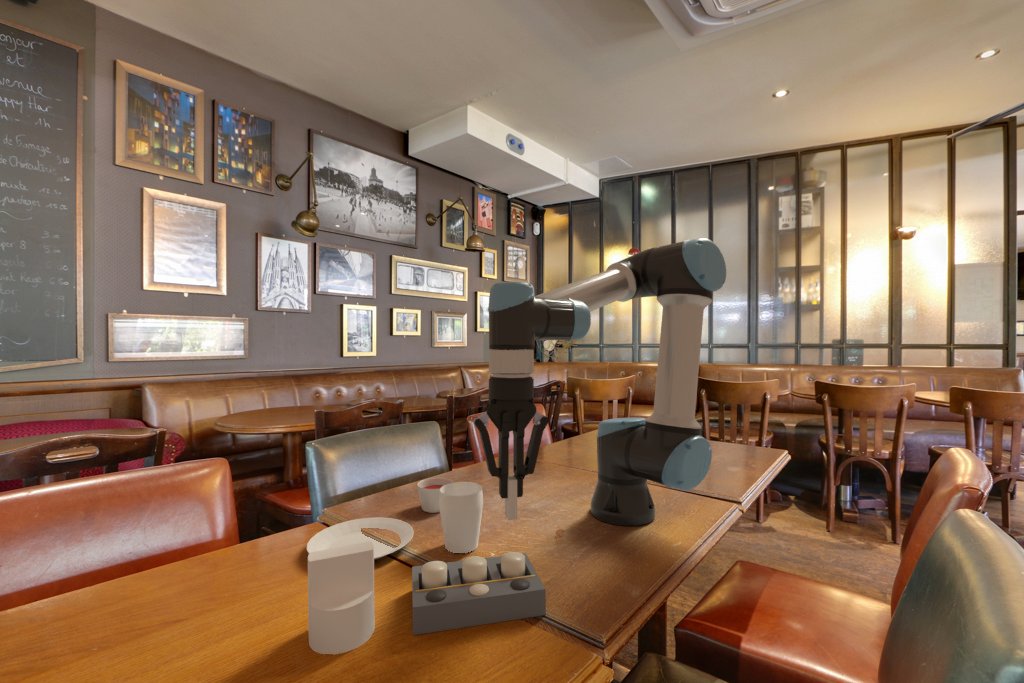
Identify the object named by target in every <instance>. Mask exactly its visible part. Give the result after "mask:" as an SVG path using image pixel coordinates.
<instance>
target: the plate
mask: <svg viewBox="0 0 1024 683" xmlns="http://www.w3.org/2000/svg"><path fill="white" fill-rule="evenodd" d="M361 528H379V529H387V530H391V531H393V532H395V533H397V534H398V535H399V537H400V539H401V544H400V545H399V546H398V547H396V548H392V547H390V546H387V545H385V544H383V543H380V542H378V541H376V540H374V539H372V538H370V537H367V536H365V535H364V534H362V532H361ZM414 532H415V531H414V528H413V527H412V525H410V524H409V523H408V522H405V521H403V520H400V519H397V518H393V517H381V516H380V517H378V516H377V517H363V518H356V519H355V518H354V519H351V520H346V521H343V522H339V523H336V524H334V525H331V526H329V527H326V528H324V529H322V530H321V531H319V532H317V533H315V535H313V536H312V537H311V538H310V539H309V540H308V542H307V543H306V551H307V554H309V553H310V552H314V551H320V550H326V549H331V548H337V547H342V546H348V545H353V544H359V543H364V542H370V541H371V542H372V543H373V545H374V561H376V560H379V559H381V558H384V557H386V556H387V555H390V554H393V553H395V552H396V551H398V550H401V549H403V547H405V546H406V545H408V544H409V543H410V542H411V540H412V539H413V537H414Z"/></svg>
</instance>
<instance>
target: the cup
mask: <svg viewBox="0 0 1024 683" xmlns="http://www.w3.org/2000/svg"><path fill="white" fill-rule="evenodd" d="M439 508H440V512H439V515H440V520H441V528H442V534H443V535H442V536H443V540H444V547H445V550H446V549H447V550H448V551H447V550H446V551H447V552H449V551H450V552H449V553H451V552H453V553H452V554H454V553H465V554H469V553H471V551H472V552H474V551H476V549H477V548H478V547H479V538H480V531H481V523H482V518H483V517H482V515H483V508H484V495H483V486H482V485H481V484H479V483H477V482H476V483H475V482H473V481H458V482H457V481H456V482H453V483H450V484H447V485H444V486H442V487H441V488H440V499H439ZM468 552H469V553H468Z"/></svg>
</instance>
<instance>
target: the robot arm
mask: <svg viewBox="0 0 1024 683" xmlns="http://www.w3.org/2000/svg"><path fill="white" fill-rule="evenodd" d="M726 279H727V265H726V261H725V258H724V255H723V253H722V252H721V249H720V248H719V246H718V245H717V244H716V243H714V241H712V240H711V239H709V238H703V237H702V238H696V239H686V240H683V241H679V242H675V243H674V242H673V243H670V244H665V245H661V246H656V247H650V248H647V249H645V250H643V251H640V252H638V253H635V254H632V255H631V256H629V257H626V258H624V259H622V260H619V261H617V262H613V263H611V264H610V265H609V266H608V267H607V268H606V269H605V270H604V271H601V272H599V273H596V274H593V275H590V276H588V277H584V278H581V279H580V280H575V281H574V282H571V283H568V284H566V285H562V286H559V287H556V288H554V289H550V290H548V291H546V292H543V293H540V294H537V295H536V294H535V287H534V286H533V284H531V283H530V282H525V281H503V282H502V281H501V282H496V283H494V284H493V285H491V287H490V290H489V296H488V309H487V312H488V345H489V346H488V348H489V350H488V372H489V373H490V374H491V375H492V376H490V377H489V378H488V403H487V405H486V407H485V412H483V413H482V414H480V415H479V416H475V417H473V418H472V423H473V424H474V426H475V428H476V429H477V430H478V433H479V438H480V443H481V445H482V446H481V447H482V449H483V455H484V458H485V463H486V467H487V471H488V472H489V474H490V476H491V477H496V478H498V494H499V496H500V498H501V499H504V515H505V516H506V519H507V521H511V520H512V521H514V520H518V498H522V497H523V495H524V479H525V478H526V476H528V475H532V474H534V472H535V468H536V464H537V460H538V457H539V451H540V447H541V444H542V439H543V434H544V430H546V428H547V426H548V425H549V422H550V418H549V417H548V416H546V415H545V414H542V413H540V412H539V411H537V406H536V404H535V402H534V399H535V396H534V394H535V393H534V392H535V391H534V386H535V385H534V384H535V383H534V380H535V379H534V378H533V376H531V374H533V373H534V370H535V369H534V368H535V364H534V357H535V355H534V349H535V345H534V344H535V341H566V342H570V341H571V342H572V341H578V340H581V339H583V338H584V337H586V335H587V334H588V332H589V331H590V328H591V325H592V322H591V321H592V319H591V318H592V316H591V314H592V313H591V312H593V311H594V310H598V309H601V308H603V307H605V306H607V305H609V304H612V303H615V302H616V301H617V302H619V303H620V302H621V303H625V302H628V301H630V300H633V299H639V298H640V299H641V298H649V297H651V298H652V297H656V301H657V302H658V303H659V304H660V306H662V312H661V322H660V324H661V325H660V335H659V345H658V346H659V347H658V355H657V356H658V358H657V368H656V378H655V392H654V401H653V412H652V413H651V415H649V416H648V417H647V418H644V417H617V418H609V419H604V420H602V421H600V422H599V423H598V425H597V435H596V447H597V448H596V449H597V450H596V454H597V455H596V456H597V482H596V485H595V488H594V491H593V495H592V498H591V501H590V513H591V515H592V516H593V517H594V518H595V519H597V520H599V521H602V522H604V523H607V524H610V525H611V524H612V525H617V526H625V527H626V526H628V527H631V526H635V527H636V526H642V525H647V524H649V523H651V522H653V521H654V520H655V518H656V508H655V507H656V506H655V504H654V500H653V497H652V494H651V492H650V488H649V485H648V481H649V482H650V481H651V482H654V483H657V484H659V485H662V486H664V487H667V488H669V489H675V490H680V491H690V490H693V489H695V488H697V487H698V486H699V485H701V483H702V482H703V480H705V478H706V477H707V475H708V473H709V471H710V469H711V468H710V467H711V464H712V459H713V453H712V451H713V450H712V448H711V445H710V442H709V440H708V439H706V438H705V437H704V436H702V428H703V427H702V426H701V424H700V423H699V421H697V420H696V407H697V397H698V396H697V393H698V382H699V370H700V360H701V358H700V357H701V347H702V336H703V324H704V310H705V309H706V308H707V307H708V306H709V305H711V304H712V303H713V294H714V293H713V292H717V291H718V290H721V289H722V288H723V286H724V284H725V283H726ZM489 419H490V421H491V422H492V423H493V425H494V426H495V428H496V429H497V434H498V466H497V462H496V459H495V455H494V450H493V447H492V442H491V436H490V434H489V431H488V429H487V428H488V427H489ZM532 419H533V420H532ZM531 421H532V423H533V426H532V429H531V434H530V438H529V441H528V442H529V443H528V447H527V451H526V454H525V451H524V450H525V447H524V446H525V442H524V441H525V435H526V434H525V433H526V432H525V429H526V428H527V427H528V425H529V424H530V422H531ZM510 432H512V435H513V437H512V438H513V439H512V440H513V449H512V450H513V453H512V454H513V460H512V461H513V464H512V466H513V471H512V472H513V474H510V475H509V472H510V471H509V469H510V468H509V456H510V455H509V454H510V452H509V446H510V444H509V443H510V440H509V439H510Z"/></svg>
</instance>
